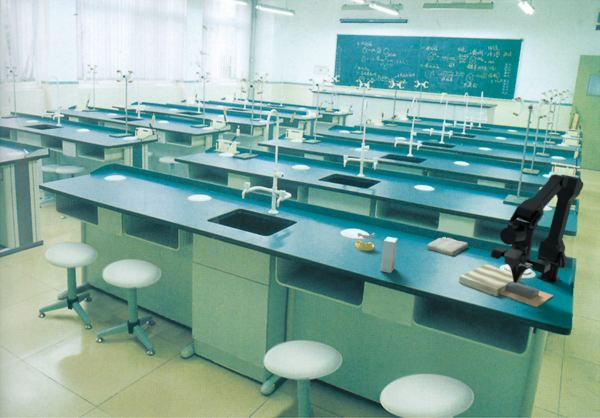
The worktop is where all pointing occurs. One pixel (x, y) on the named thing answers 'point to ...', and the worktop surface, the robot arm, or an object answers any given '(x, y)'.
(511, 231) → the robot arm
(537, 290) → the grey rectangular block
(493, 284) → the cream wavy flat block
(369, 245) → the dental model
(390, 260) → the skincare box
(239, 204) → the worktop surface
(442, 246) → the washcloth
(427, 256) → the worktop surface
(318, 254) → the worktop surface
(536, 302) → the mat
